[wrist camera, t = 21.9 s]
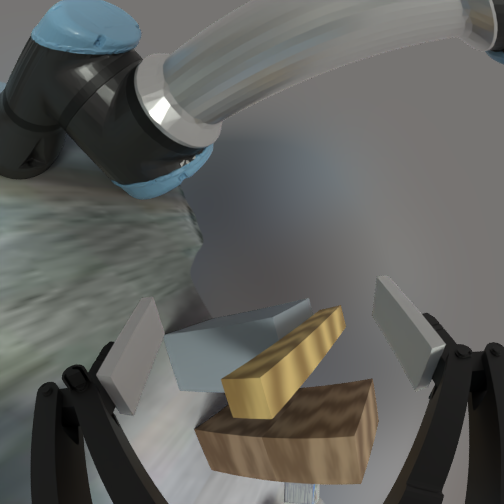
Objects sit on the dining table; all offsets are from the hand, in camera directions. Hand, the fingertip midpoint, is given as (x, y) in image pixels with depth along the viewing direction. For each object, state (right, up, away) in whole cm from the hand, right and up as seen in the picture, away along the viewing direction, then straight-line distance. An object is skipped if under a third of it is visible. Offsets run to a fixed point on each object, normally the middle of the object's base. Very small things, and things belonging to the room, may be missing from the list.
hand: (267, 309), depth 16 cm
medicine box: (+9, -62, +40) cm, 74 cm away
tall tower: (-5, -32, +32) cm, 46 cm away
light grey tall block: (-11, -15, +33) cm, 38 cm away
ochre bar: (+4, -9, +20) cm, 22 cm away
